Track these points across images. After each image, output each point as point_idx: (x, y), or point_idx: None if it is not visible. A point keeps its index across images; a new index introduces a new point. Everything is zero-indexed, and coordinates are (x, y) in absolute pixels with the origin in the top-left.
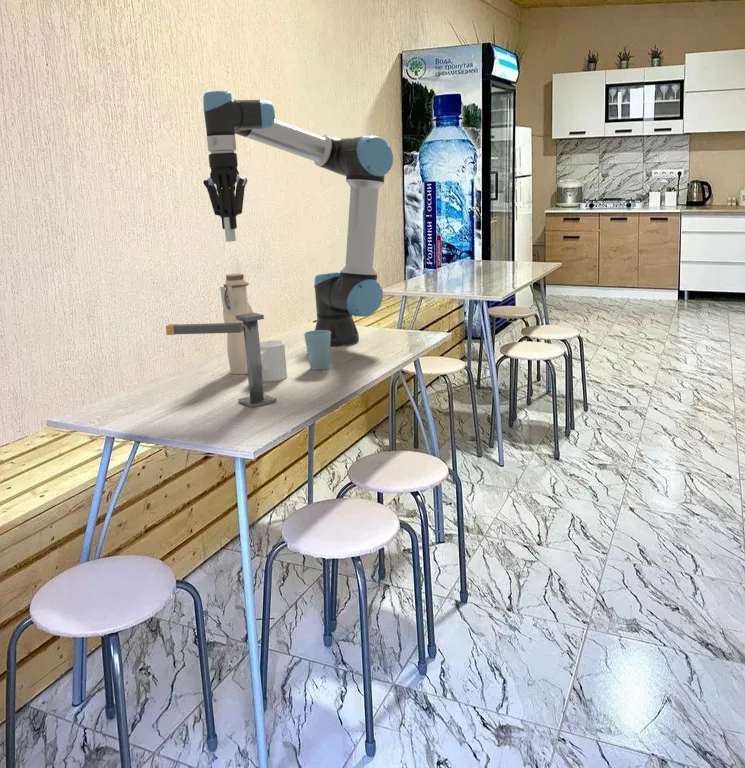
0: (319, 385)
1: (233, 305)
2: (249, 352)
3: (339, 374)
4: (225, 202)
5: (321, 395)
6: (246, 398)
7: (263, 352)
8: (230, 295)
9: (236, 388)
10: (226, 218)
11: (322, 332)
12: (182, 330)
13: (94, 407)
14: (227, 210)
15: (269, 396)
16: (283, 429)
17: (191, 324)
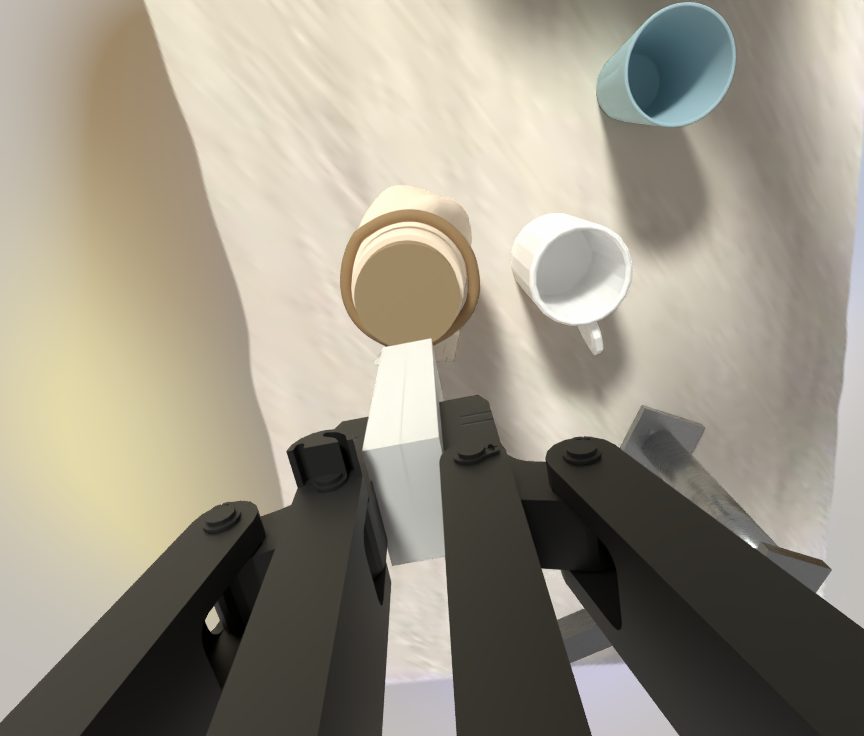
0: (731, 263)
1: (452, 336)
2: None
3: (732, 133)
4: (359, 675)
5: (782, 337)
6: (631, 454)
7: (601, 338)
8: (439, 348)
9: (527, 381)
10: (433, 550)
11: (670, 12)
12: None
13: None
14: (363, 534)
15: (677, 420)
16: (814, 546)
17: (572, 642)
